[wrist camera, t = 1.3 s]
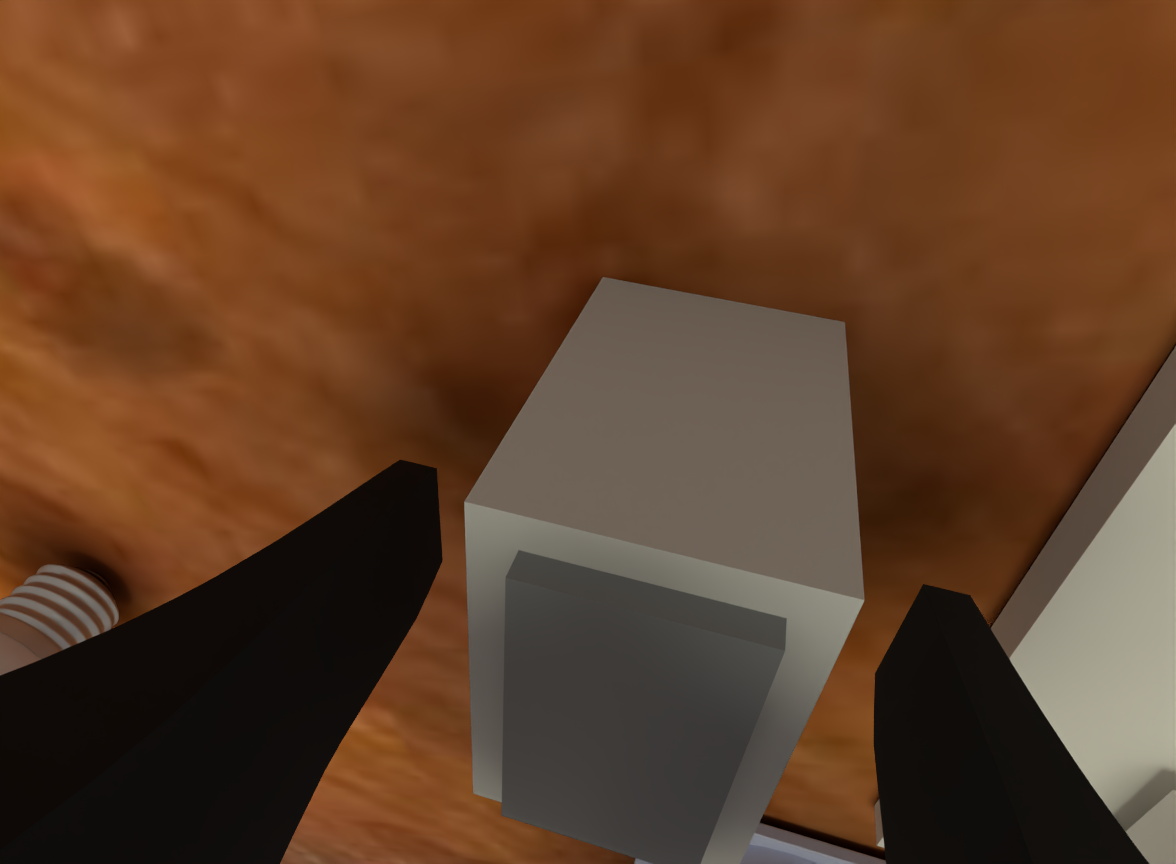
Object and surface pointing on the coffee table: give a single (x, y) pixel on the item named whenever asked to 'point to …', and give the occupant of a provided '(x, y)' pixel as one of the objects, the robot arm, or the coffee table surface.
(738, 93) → the coffee table surface
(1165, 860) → the mounted modules
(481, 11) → the coffee table surface
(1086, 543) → the board
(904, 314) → the coffee table surface
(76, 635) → the lightbulb
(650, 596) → the block
